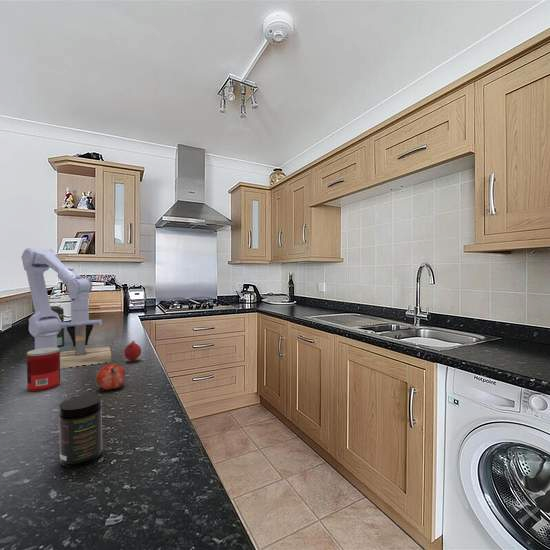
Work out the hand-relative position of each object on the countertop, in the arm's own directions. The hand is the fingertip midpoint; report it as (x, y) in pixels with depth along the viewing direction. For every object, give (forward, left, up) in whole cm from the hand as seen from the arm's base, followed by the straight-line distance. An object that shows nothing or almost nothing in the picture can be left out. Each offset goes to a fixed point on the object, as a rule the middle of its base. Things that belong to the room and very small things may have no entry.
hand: (80, 345), depth 119 cm
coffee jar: (-37, -11, -6) cm, 39 cm away
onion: (+11, +17, -6) cm, 21 cm away
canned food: (+25, -9, -6) cm, 27 cm away
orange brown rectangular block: (0, 0, -4) cm, 4 cm away
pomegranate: (+37, +8, -6) cm, 38 cm away
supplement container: (+73, +1, -6) cm, 73 cm away
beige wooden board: (0, 0, -6) cm, 6 cm away
